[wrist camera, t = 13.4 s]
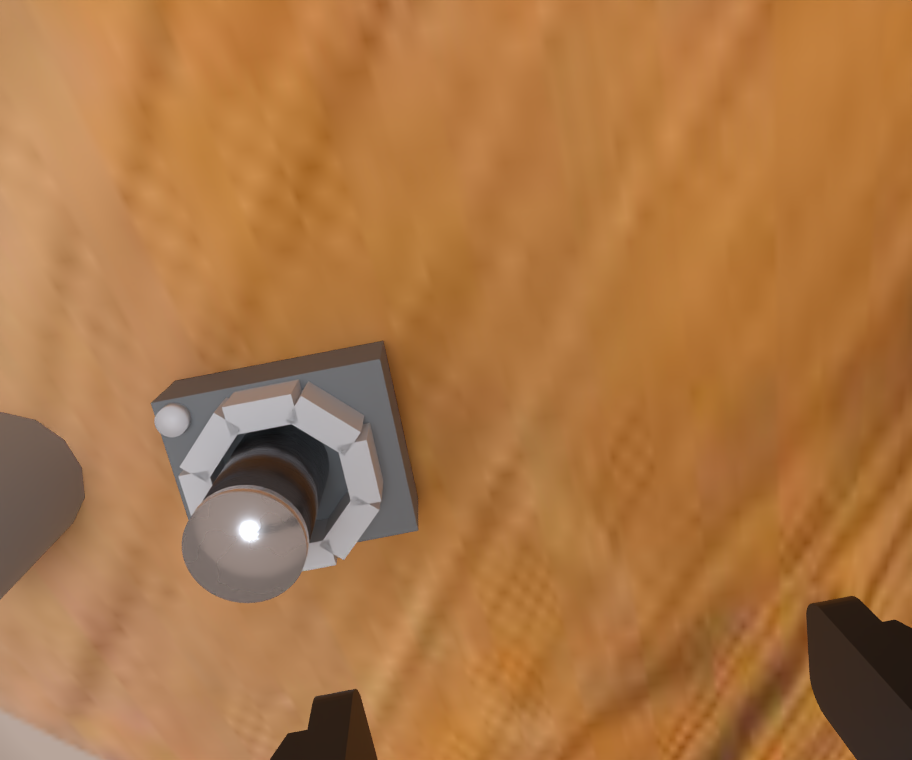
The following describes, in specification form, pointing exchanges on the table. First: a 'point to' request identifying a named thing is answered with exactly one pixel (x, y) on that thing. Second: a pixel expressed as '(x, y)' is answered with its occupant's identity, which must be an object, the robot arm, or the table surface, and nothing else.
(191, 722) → the table surface
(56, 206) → the table surface
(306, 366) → the grey block with ring
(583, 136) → the table surface
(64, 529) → the cup
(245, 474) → the lens
